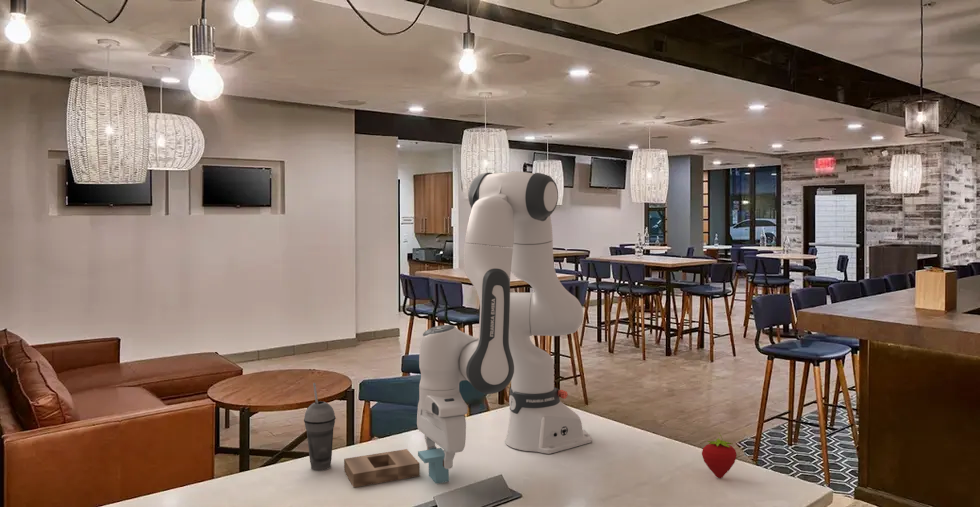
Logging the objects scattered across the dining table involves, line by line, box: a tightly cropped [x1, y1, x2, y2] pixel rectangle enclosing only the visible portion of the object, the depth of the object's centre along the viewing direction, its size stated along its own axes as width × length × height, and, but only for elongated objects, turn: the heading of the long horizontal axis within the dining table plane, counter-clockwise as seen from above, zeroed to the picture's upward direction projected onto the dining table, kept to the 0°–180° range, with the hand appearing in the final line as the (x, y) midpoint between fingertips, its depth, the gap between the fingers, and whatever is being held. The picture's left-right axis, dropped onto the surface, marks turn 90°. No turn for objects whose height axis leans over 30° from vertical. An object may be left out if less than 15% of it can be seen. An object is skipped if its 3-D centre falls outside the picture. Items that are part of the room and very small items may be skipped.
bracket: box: [417, 447, 450, 484], centre depth 148 cm, size 6×5×6 cm
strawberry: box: [701, 432, 738, 479], centre depth 147 cm, size 6×8×10 cm
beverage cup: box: [303, 382, 337, 472], centre depth 155 cm, size 7×7×20 cm
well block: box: [343, 448, 421, 488], centre depth 151 cm, size 15×10×3 cm, turn 114°
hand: (439, 461), depth 147 cm, fingers open, 8 cm apart
